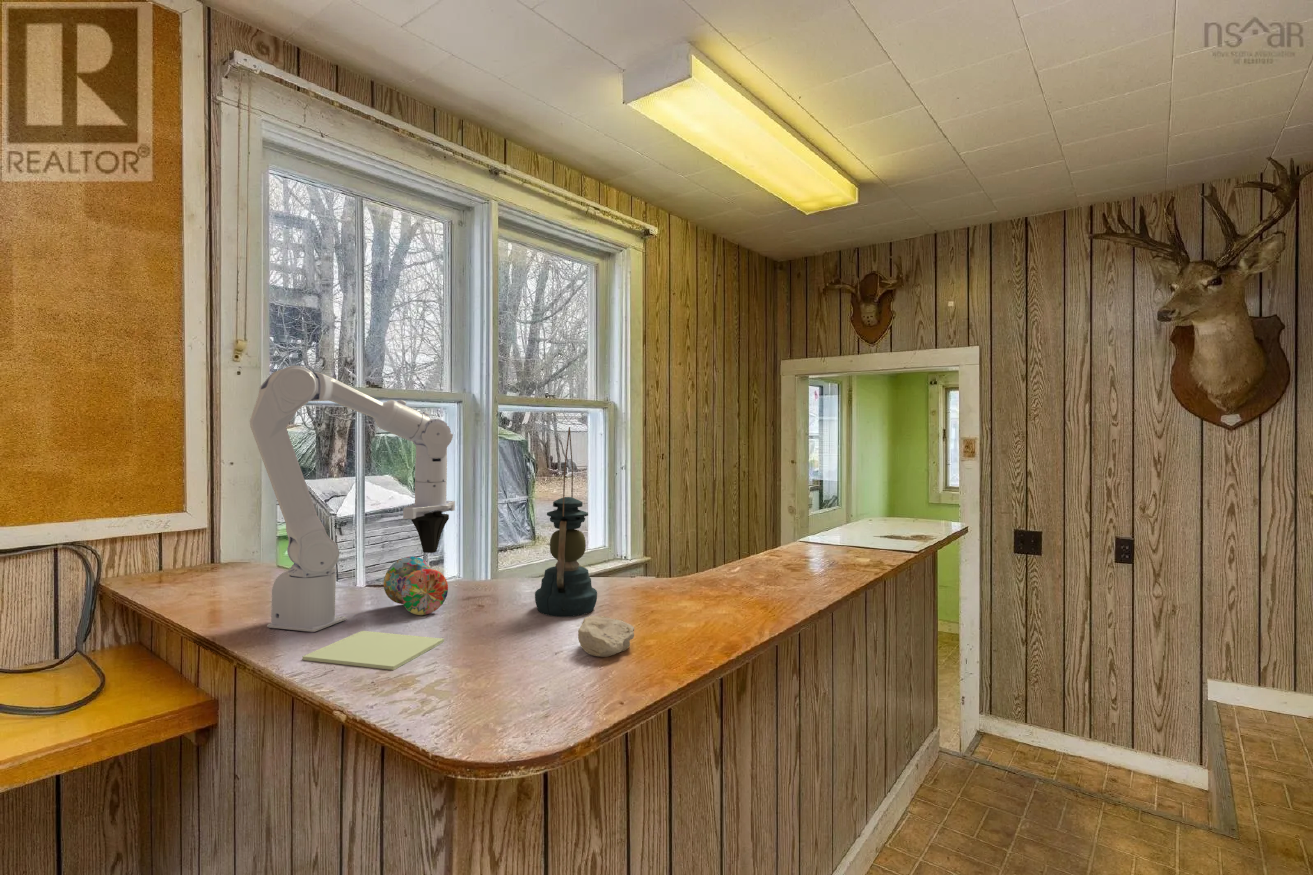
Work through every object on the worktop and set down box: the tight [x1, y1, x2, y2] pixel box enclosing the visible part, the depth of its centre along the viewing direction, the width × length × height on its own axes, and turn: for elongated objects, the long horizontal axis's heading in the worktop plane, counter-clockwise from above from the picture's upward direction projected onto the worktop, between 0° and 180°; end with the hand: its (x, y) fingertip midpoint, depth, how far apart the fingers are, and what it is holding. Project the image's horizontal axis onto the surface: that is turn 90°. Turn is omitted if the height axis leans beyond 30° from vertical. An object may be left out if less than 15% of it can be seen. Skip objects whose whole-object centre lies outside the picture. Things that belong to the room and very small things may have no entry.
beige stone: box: [577, 615, 635, 658], centre depth 101 cm, size 9×6×10 cm
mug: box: [383, 556, 449, 616], centre depth 122 cm, size 12×9×11 cm
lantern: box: [534, 426, 598, 618], centre depth 124 cm, size 14×12×35 cm
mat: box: [302, 630, 445, 671], centre depth 99 cm, size 15×13×1 cm
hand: (429, 552), depth 124 cm, fingers closed
